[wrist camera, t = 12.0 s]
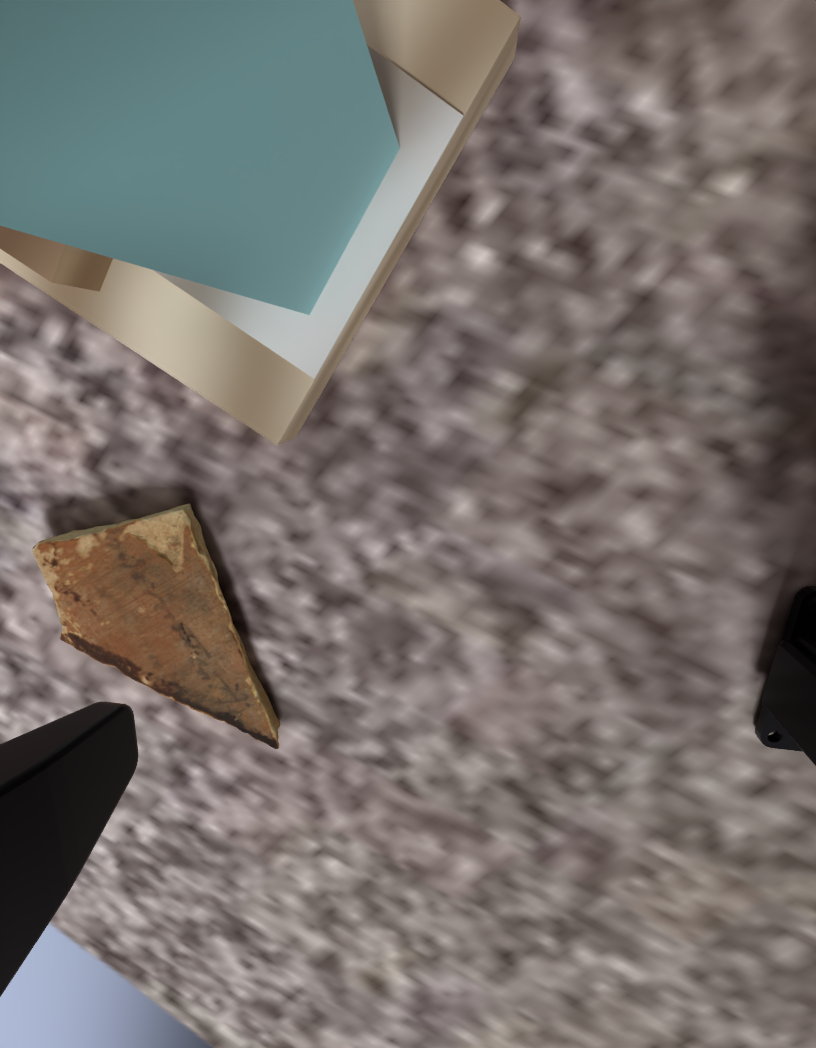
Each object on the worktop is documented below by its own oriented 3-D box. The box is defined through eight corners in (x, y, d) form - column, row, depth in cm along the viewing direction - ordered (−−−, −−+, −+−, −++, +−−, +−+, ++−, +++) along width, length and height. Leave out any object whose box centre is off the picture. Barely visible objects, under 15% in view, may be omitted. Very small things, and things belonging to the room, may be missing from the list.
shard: (290, 726, 24) (276, 755, 22) (139, 749, 25) (115, 778, 23) (206, 495, 21) (182, 507, 19) (40, 535, 22) (4, 550, 20)
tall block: (399, 148, 14) (-30, -1201, 2) (309, 315, 16) (-255, 152, 3) (241, 33, 14) (-1536, -2546, 2) (164, 215, 15) (-1052, -367, 3)
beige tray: (513, 59, 15) (529, -42, 11) (296, 437, 19) (253, 456, 15) (-191, -472, 14) (-448, -798, 10) (-271, 61, 17) (-477, -22, 14)
